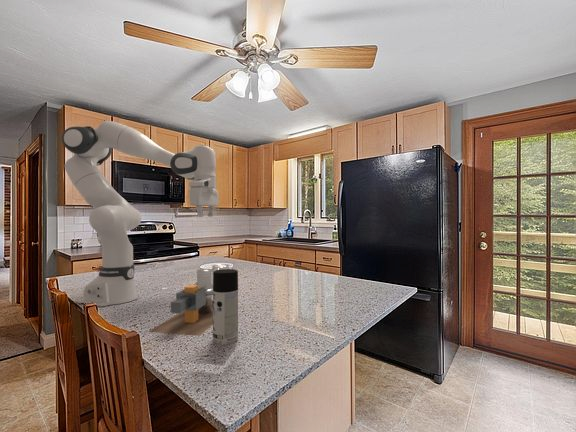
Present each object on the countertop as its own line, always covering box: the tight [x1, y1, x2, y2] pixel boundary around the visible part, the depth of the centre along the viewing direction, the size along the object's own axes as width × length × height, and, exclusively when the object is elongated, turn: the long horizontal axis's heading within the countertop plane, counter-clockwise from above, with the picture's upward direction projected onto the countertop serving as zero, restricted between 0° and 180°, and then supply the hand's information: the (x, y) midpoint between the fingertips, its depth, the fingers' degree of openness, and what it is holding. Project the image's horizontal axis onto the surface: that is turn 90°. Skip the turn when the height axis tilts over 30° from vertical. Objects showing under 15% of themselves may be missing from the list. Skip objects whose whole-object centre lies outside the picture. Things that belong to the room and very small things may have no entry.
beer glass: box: [211, 263, 230, 285], centre depth 117 cm, size 7×7×15 cm
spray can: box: [212, 268, 239, 346], centre depth 80 cm, size 7×7×20 cm
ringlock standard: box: [170, 268, 213, 314], centre depth 97 cm, size 11×24×14 cm, turn 170°
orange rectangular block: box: [183, 284, 198, 323], centre depth 94 cm, size 3×3×11 cm
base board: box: [148, 304, 213, 337], centre depth 97 cm, size 16×26×2 cm, turn 170°
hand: (205, 216), depth 126 cm, fingers open, 8 cm apart
